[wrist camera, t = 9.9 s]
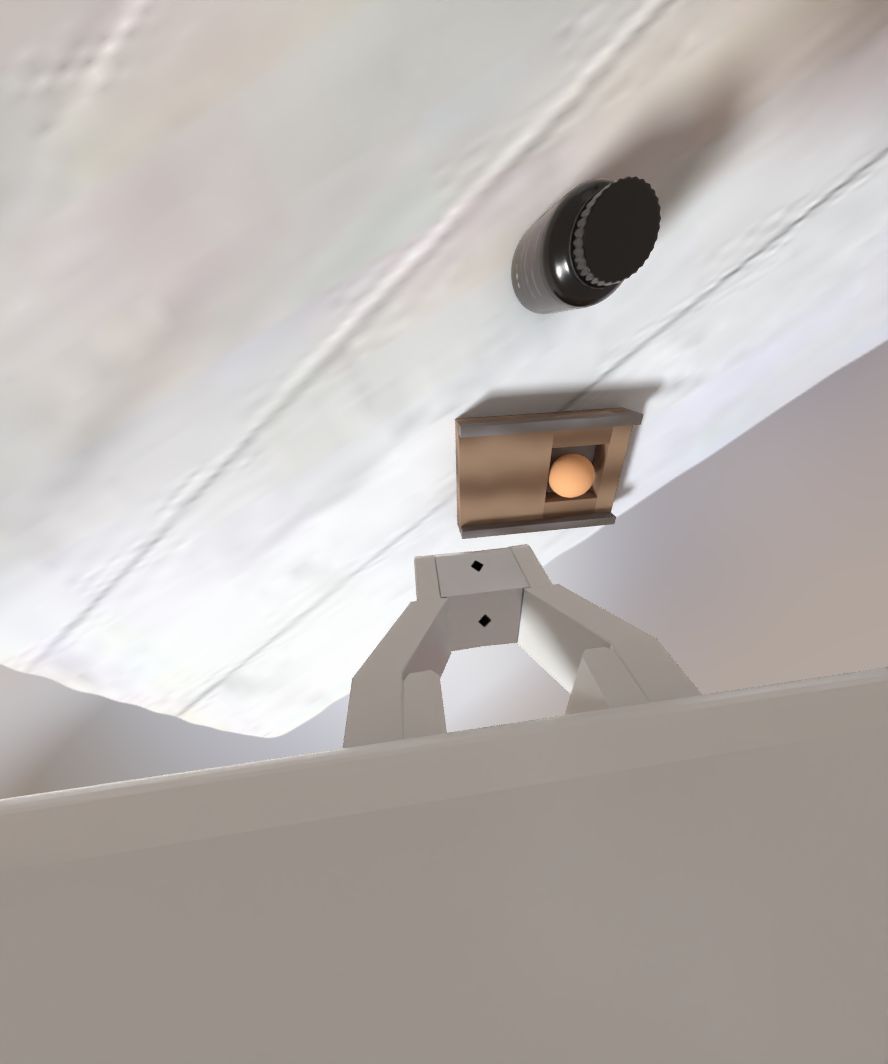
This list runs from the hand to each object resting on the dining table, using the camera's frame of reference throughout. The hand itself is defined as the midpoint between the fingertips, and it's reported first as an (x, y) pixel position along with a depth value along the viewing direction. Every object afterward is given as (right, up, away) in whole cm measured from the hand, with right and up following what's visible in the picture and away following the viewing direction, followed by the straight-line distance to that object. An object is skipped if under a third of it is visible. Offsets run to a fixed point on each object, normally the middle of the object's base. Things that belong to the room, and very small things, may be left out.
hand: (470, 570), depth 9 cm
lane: (+10, +9, +30) cm, 33 cm away
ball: (+14, +8, +29) cm, 33 cm away
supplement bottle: (+8, +25, +21) cm, 33 cm away
